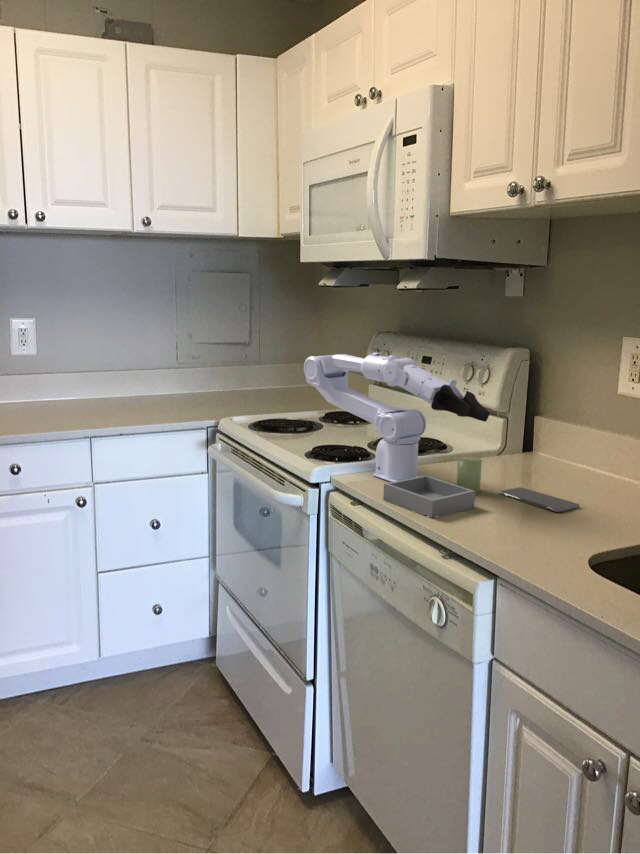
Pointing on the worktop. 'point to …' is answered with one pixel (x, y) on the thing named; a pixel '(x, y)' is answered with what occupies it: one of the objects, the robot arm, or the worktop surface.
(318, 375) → the robot arm
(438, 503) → the grey bin
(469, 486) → the green cylinder
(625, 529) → the worktop surface
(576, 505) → the smartphone
